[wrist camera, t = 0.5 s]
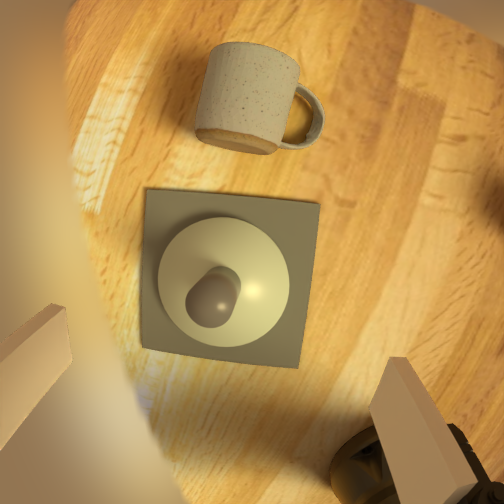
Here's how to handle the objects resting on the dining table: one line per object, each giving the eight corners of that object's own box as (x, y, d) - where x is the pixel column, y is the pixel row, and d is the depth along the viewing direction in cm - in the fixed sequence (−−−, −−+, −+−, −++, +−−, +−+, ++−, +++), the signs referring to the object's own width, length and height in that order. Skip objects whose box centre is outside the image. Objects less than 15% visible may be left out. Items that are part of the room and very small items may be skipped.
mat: (297, 366, 31) (298, 368, 31) (144, 345, 32) (142, 347, 31) (319, 204, 29) (320, 204, 28) (148, 189, 30) (147, 189, 29)
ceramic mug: (200, 148, 29) (178, 130, 21) (218, 70, 28) (204, 33, 20) (313, 170, 29) (329, 158, 21) (327, 89, 27) (345, 56, 20)
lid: (280, 349, 30) (282, 386, 24) (160, 333, 31) (133, 364, 24) (295, 223, 29) (303, 229, 22) (164, 212, 29) (134, 214, 22)
